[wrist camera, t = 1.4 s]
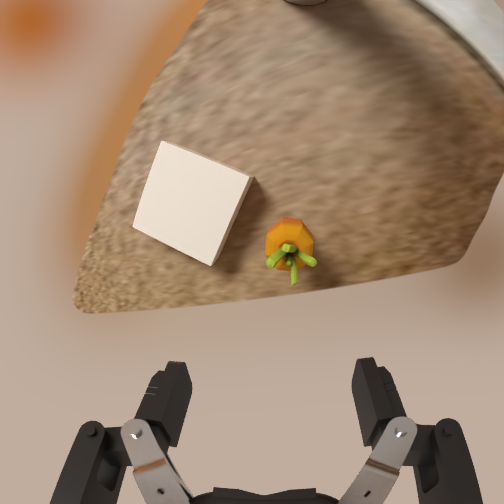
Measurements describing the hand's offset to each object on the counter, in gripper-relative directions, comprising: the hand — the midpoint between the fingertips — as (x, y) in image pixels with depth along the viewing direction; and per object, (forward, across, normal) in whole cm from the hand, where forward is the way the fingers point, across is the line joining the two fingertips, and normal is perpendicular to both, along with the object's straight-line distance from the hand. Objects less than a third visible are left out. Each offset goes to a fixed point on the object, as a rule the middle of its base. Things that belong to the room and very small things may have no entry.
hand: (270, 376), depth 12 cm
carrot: (+26, -2, +2) cm, 27 cm away
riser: (+28, +10, -3) cm, 29 cm away
